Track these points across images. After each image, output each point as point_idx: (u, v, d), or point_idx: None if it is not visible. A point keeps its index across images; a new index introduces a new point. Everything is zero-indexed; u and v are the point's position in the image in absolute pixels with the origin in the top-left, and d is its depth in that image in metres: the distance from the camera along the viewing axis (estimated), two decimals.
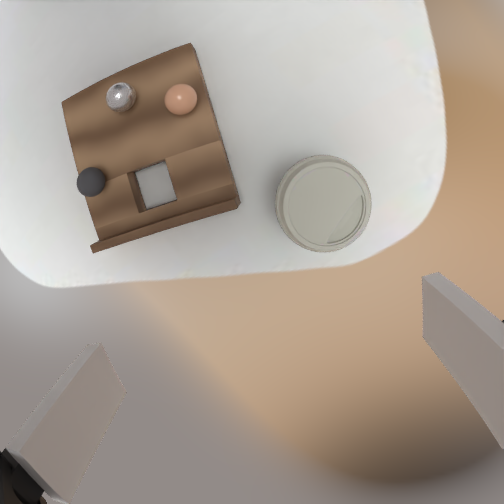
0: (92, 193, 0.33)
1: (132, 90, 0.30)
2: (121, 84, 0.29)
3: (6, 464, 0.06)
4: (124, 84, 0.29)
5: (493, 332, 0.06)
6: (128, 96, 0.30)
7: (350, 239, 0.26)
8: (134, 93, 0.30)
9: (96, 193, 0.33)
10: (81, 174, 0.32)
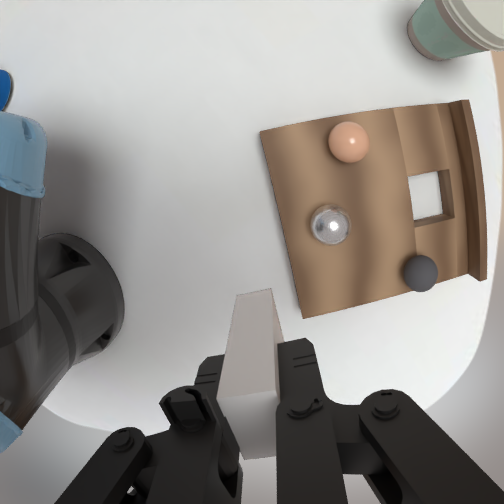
0: (437, 270, 0.26)
1: (328, 206, 0.26)
2: (320, 219, 0.25)
3: (218, 431, 0.07)
4: (319, 216, 0.26)
5: (255, 348, 0.09)
6: (338, 211, 0.25)
7: None
8: (330, 204, 0.26)
9: (436, 266, 0.27)
10: (416, 283, 0.26)
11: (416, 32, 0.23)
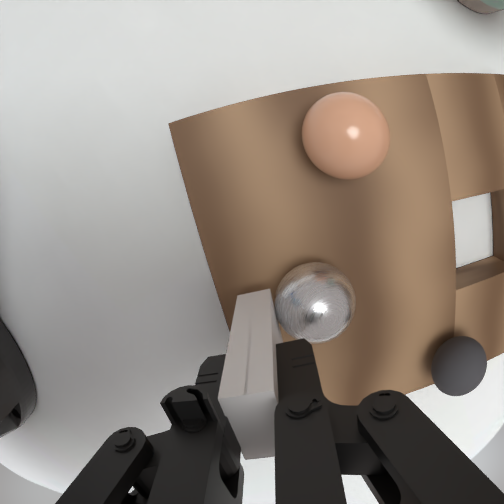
0: (486, 362, 0.13)
1: (311, 268, 0.13)
2: (298, 301, 0.12)
3: (219, 431, 0.07)
4: (295, 294, 0.12)
5: (254, 348, 0.09)
6: (333, 279, 0.12)
7: None
8: (314, 264, 0.13)
9: (485, 353, 0.14)
10: (452, 388, 0.13)
11: None
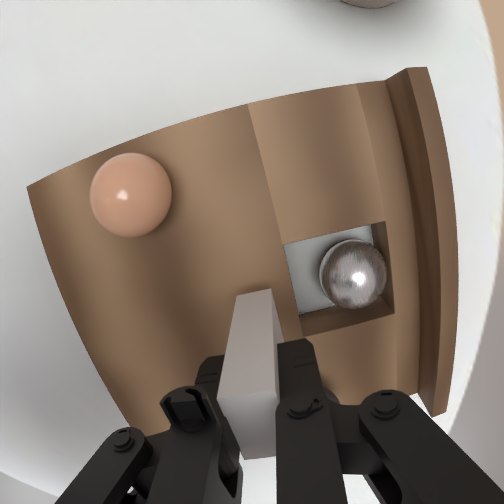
0: None
1: (355, 242, 0.15)
2: (366, 265, 0.14)
3: (218, 431, 0.07)
4: (361, 260, 0.14)
5: (255, 348, 0.09)
6: (373, 246, 0.15)
7: None
8: (351, 240, 0.15)
9: None
10: None
11: None
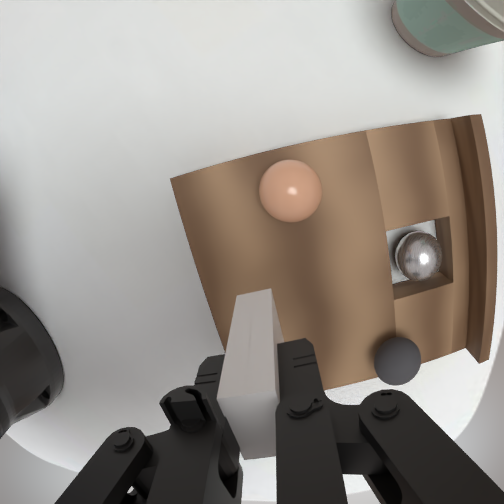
0: (419, 359, 0.19)
1: (420, 233, 0.20)
2: (424, 250, 0.19)
3: (218, 431, 0.07)
4: (421, 246, 0.19)
5: (255, 348, 0.09)
6: (433, 237, 0.20)
7: None
8: (419, 231, 0.20)
9: (419, 352, 0.19)
10: (388, 378, 0.19)
11: (402, 15, 0.15)
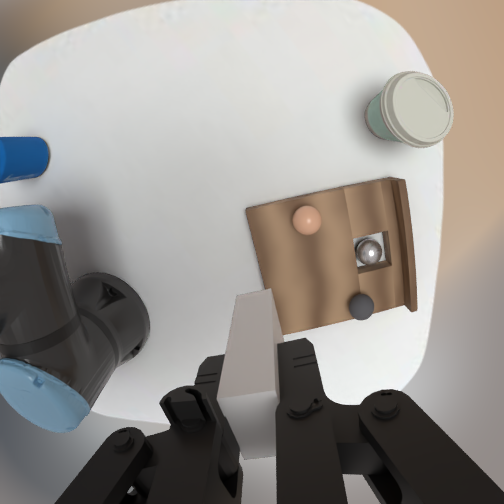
0: (373, 305, 0.40)
1: (369, 240, 0.41)
2: (368, 249, 0.40)
3: (218, 431, 0.07)
4: (366, 247, 0.40)
5: (256, 348, 0.09)
6: (376, 242, 0.40)
7: (445, 93, 0.26)
8: (369, 239, 0.41)
9: (373, 302, 0.40)
10: (356, 314, 0.40)
11: (369, 121, 0.36)
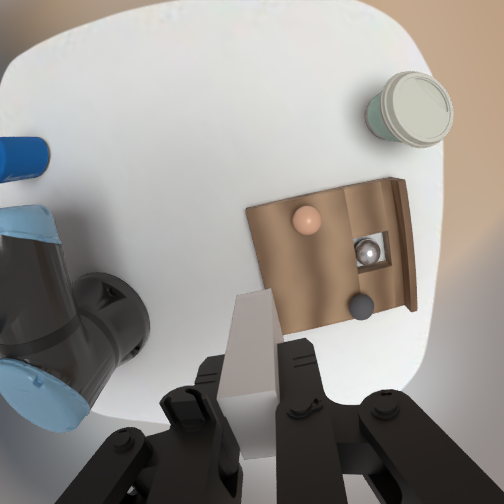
0: (373, 305, 0.40)
1: (367, 240, 0.41)
2: (365, 249, 0.40)
3: (218, 431, 0.07)
4: (364, 247, 0.40)
5: (256, 348, 0.09)
6: (374, 243, 0.40)
7: (445, 93, 0.26)
8: (368, 239, 0.41)
9: (373, 302, 0.40)
10: (356, 314, 0.40)
11: (369, 121, 0.36)
